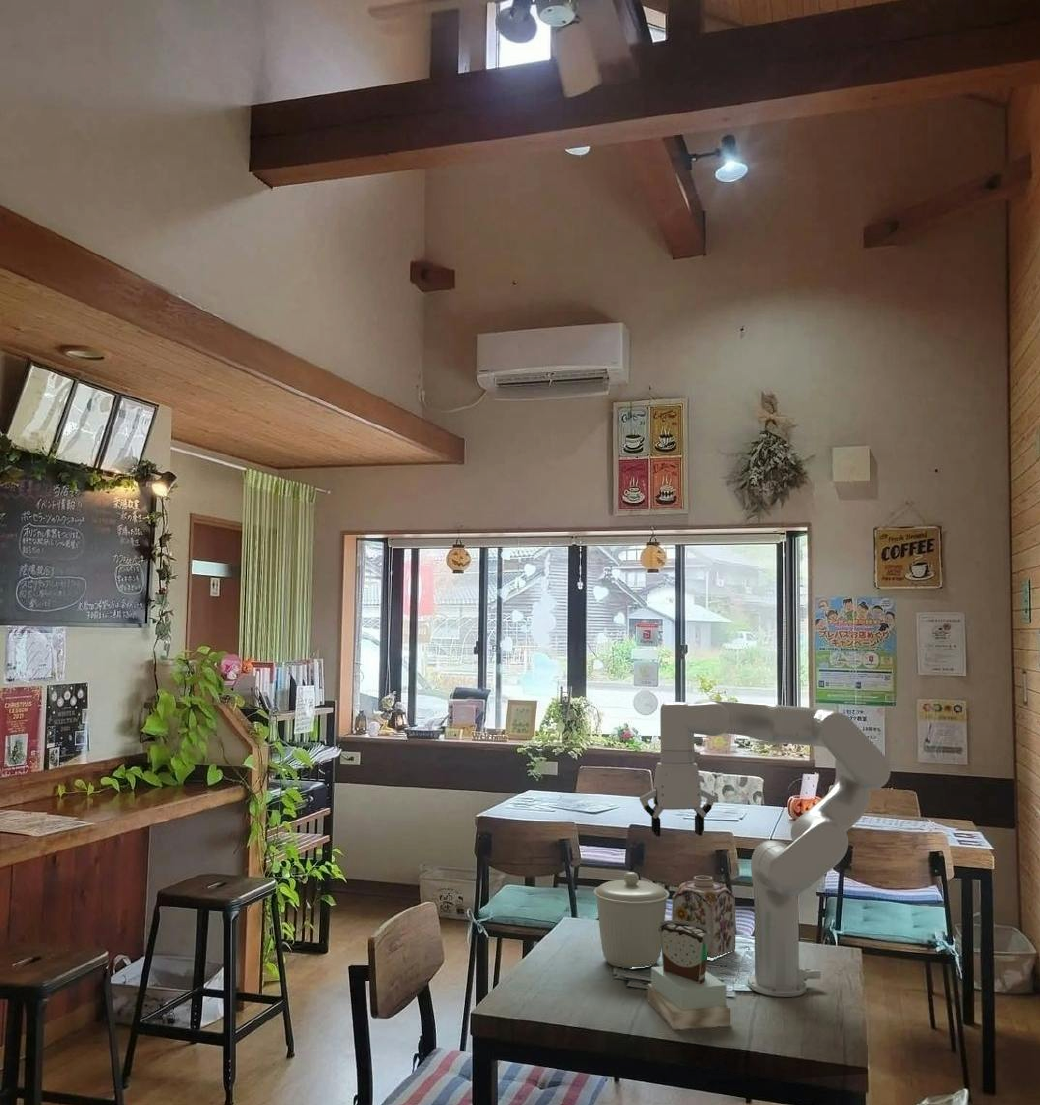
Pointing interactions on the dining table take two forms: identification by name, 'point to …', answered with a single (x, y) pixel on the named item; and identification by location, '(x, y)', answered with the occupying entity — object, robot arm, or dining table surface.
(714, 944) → the decorative jar
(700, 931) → the food container
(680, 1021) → the lower slab
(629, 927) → the canister
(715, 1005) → the upper slab
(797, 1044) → the dining table surface
